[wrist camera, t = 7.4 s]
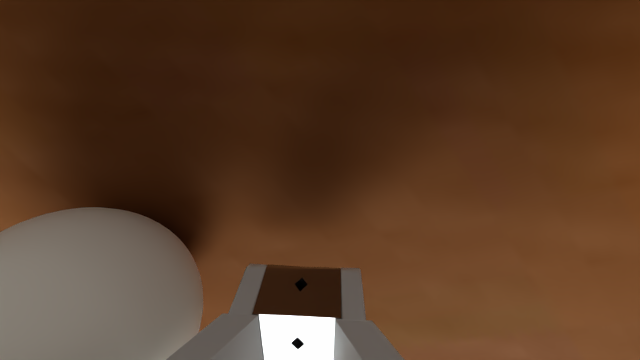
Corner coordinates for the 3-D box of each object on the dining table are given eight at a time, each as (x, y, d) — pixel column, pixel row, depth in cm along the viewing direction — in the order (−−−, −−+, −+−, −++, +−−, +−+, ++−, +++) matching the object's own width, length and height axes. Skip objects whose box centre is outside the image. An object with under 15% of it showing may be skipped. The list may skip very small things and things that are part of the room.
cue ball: (-398, 424, 3) (-30, 189, 8) (-68, 558, 6) (64, 321, 11) (140, 301, 4) (186, 158, 9) (218, 459, 7) (223, 285, 12)
